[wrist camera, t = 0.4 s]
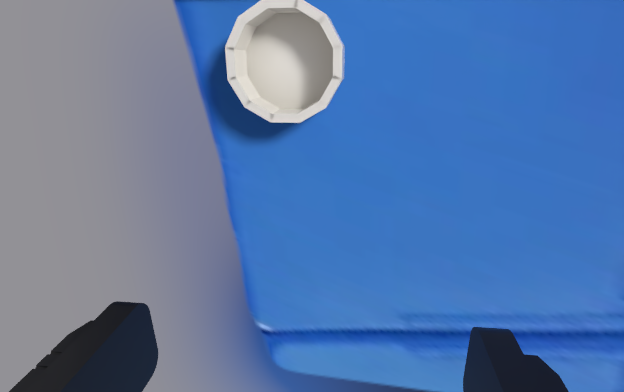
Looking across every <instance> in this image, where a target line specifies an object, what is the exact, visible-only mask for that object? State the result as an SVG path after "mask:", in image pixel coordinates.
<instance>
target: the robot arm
mask: <svg viewBox="0 0 624 392" xmlns="http://www.w3.org/2000/svg"><path fill="white" fill-rule="evenodd" d="M157 360H158V348H157V343H156V339H155V334H154V330H153V325H152V320H151V315H150V311H149V308H148V306H147V305H146V304H144V303H131V302H113V303H112V304H110V305H109V306H108V307H107V308H106V309H105V310H104V311H103V312H102V313H101V314H100V315H99V316H98V317H97V318H96V319H95V320H94V321H90V322H88V323H86V324H85V325H83V326H82V327H80V328H78V329H76V330H75V331H73V332H72V333H70V334H69V335H67V336H66V337H65V338H64V339H63V340H62V341H61V342H60V343H59V344H58V345H57V346H56V347H55V348H54V349H53V350H52V351H51V354H50V355H47V356H46V357H44V358H43V359H42V360H41V361H40V362H39V363H38V364H37V365H36V369H32V370H31V371H30V372H29V373H28V374H27V375H26V376H25V377H24V378H23V379H22V380H21V381H20V382H18V384H16V386H14V387H13V388H12V389H11V390H10V391H9V392H142V391H143V389H144V388H145V386H146V385H147V383H148V382H149V380H150V378H151V377H152V375H153V373H154V371H155V368H156V365H157ZM463 391H464V392H568V390H567V388H566V387H565V385H564V383H563V381H562V380H561V378H560V376H559V375H558V374H557V373H556V372H555V371H553V370H552V369H551V368H550V367H549V366H548V365H547V364H546V363H545V362H544V361H543V360H542V359H540V358H539V357H538V356H535V355H524V354H523V352H522V351H521V349H520V347H519V345H518V343H517V341H516V339H515V337H514V335H513V333H512V332H511V331H510V330H508V329H497V328H482V327H473V329H472V331H471V335H470V341H469V347H468V353H467V359H466V365H465V371H464V378H463Z"/></svg>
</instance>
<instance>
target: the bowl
mask: <svg viewBox="0 0 624 392" xmlns="http://www.w3.org/2000/svg"><path fill="white" fill-rule="evenodd" d="M225 54H226V66H227V79H228V81H229V83H230V85H231V86H232V88H233V90H234V91H235V93H236V94H237V96H238V98H239V99H240V101H241V103H242V104H243V106H244V107H245V108H247V109H248V110H250V111H252V112H253V113H255V114H257V115H259V116H260V117H262V118H264V119H265V120H267V121H269V122H271V123H301V122H302V121H304V120H306V119H307V118H309V117H311V116H313V115H314V114H316V113H318V112H319V111H321V110H323V109H324V108H326V107H327V106H328V104H329V103H330V101H331V100H332V98H333V96H334V94H335V93H336V91H337V89H338V87H339V86H340V84H341V82H342V80H343V79H344V65H345V57H344V54H345V46H344V44H343V43H342V41H341V39H340V37H339V35H338V33H337V31H336V29H335V27H334V25H333V24H332V22H331V20H330V18H329V17H328V16H327V15H326V14H325V13H323V12H322V11H320V10H318V9H317V8H315V7H313V6H312V5H310V4H309V3H307V2H305V1H304V0H261V1H259V2H258V3H257V4H255V5H254V6H252V7H251V8H250V9H248V10H247V11H245V12H244V13H243V14H241V15H240V16H238V18H237V20H236V23H235V25H234V27H233V30H232V32H231V34H230V37H229V39H228V41H227V43H226V46H225Z"/></svg>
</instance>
